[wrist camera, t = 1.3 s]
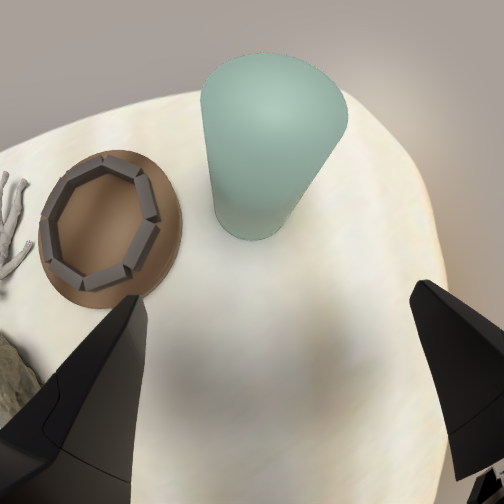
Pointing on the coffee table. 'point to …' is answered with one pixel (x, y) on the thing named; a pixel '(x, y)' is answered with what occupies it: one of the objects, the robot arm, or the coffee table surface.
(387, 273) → the coffee table surface
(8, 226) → the soldier figure
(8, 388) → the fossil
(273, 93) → the column
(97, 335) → the robot arm
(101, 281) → the segmented ring tray
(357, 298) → the coffee table surface
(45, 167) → the coffee table surface
